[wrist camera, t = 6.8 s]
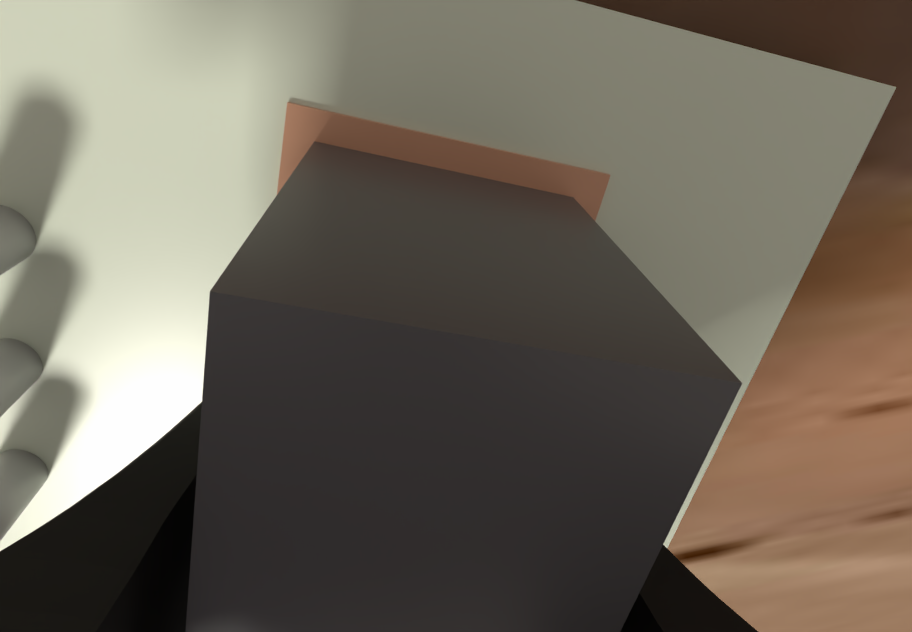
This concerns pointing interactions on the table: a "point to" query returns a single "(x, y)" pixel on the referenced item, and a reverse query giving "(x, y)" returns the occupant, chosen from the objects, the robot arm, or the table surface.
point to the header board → (377, 132)
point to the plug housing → (438, 411)
